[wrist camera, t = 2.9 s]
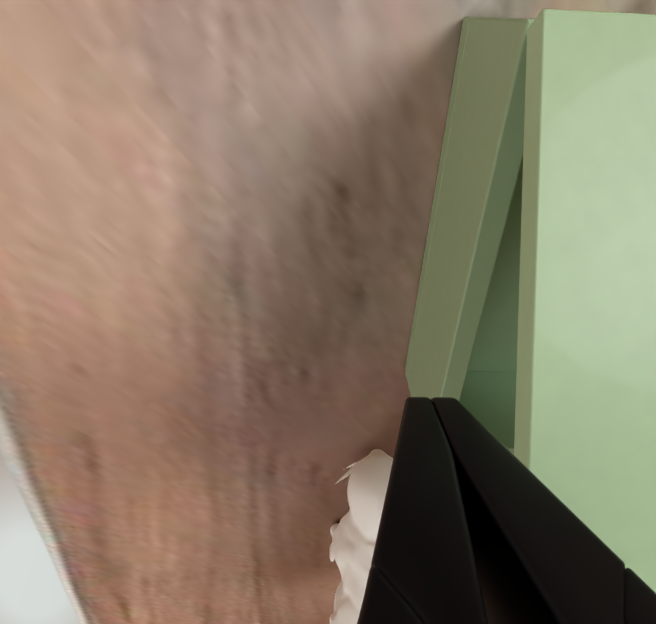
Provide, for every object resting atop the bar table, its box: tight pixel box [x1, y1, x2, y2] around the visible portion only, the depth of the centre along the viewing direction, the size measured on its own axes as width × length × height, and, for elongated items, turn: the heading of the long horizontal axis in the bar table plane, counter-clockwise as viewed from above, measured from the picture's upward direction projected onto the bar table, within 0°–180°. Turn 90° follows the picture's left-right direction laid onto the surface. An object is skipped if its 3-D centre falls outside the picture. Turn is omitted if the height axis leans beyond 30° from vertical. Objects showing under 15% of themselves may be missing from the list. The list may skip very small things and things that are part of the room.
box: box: [405, 17, 535, 455], centre depth 18 cm, size 16×13×6 cm
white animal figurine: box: [330, 449, 393, 624], centre depth 26 cm, size 6×8×12 cm
